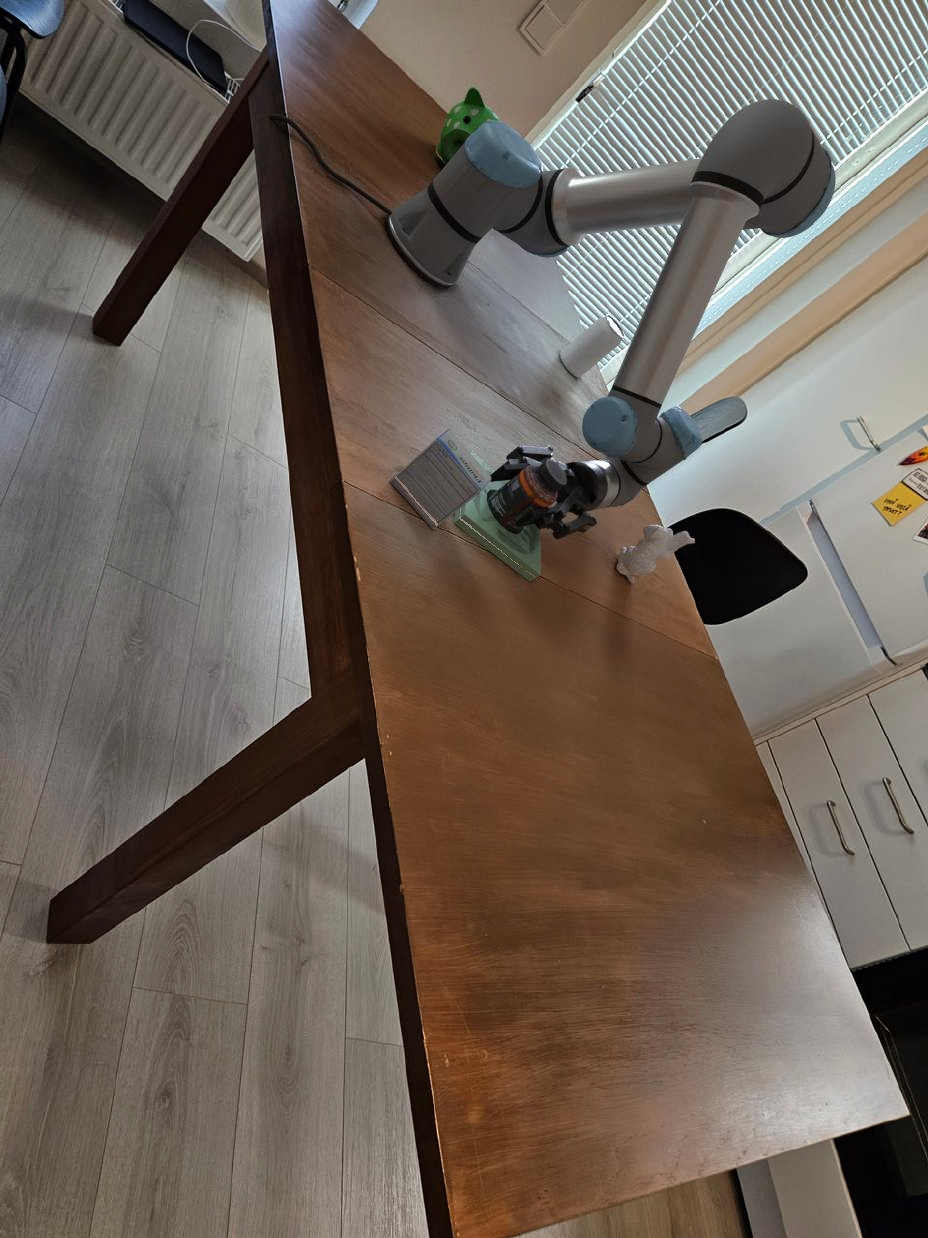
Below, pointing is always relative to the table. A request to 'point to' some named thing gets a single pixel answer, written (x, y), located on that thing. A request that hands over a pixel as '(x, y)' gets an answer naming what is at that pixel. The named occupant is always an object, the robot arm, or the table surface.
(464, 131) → the piggy bank
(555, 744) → the table surface
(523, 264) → the table surface
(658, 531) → the koala figurine
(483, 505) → the socket pad
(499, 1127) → the table surface
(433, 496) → the medicine box
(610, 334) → the can
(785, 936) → the table surface
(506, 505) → the supplement bottle
